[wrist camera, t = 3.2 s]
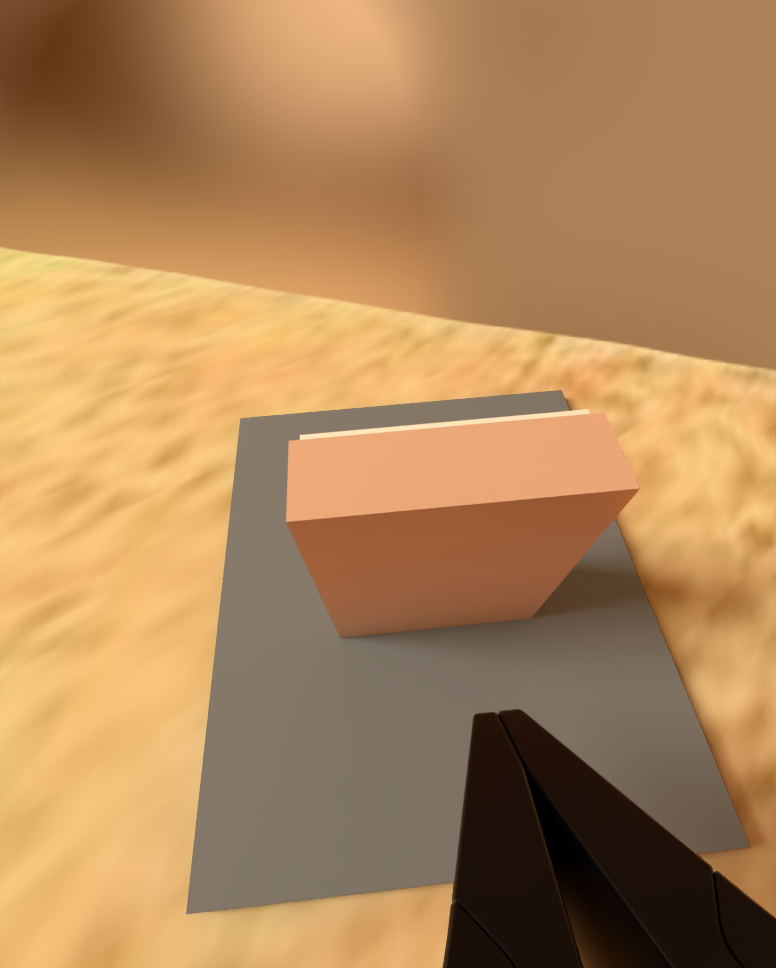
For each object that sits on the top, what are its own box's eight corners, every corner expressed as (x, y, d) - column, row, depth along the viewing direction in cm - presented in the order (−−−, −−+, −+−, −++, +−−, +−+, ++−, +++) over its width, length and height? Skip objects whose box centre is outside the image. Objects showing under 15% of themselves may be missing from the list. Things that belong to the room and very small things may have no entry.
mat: (737, 844, 13) (750, 847, 13) (194, 908, 13) (186, 913, 12) (558, 398, 23) (561, 390, 23) (244, 426, 23) (240, 418, 22)
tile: (530, 618, 16) (639, 488, 9) (340, 638, 16) (286, 522, 9) (515, 560, 18) (599, 402, 10) (337, 577, 18) (289, 430, 10)
